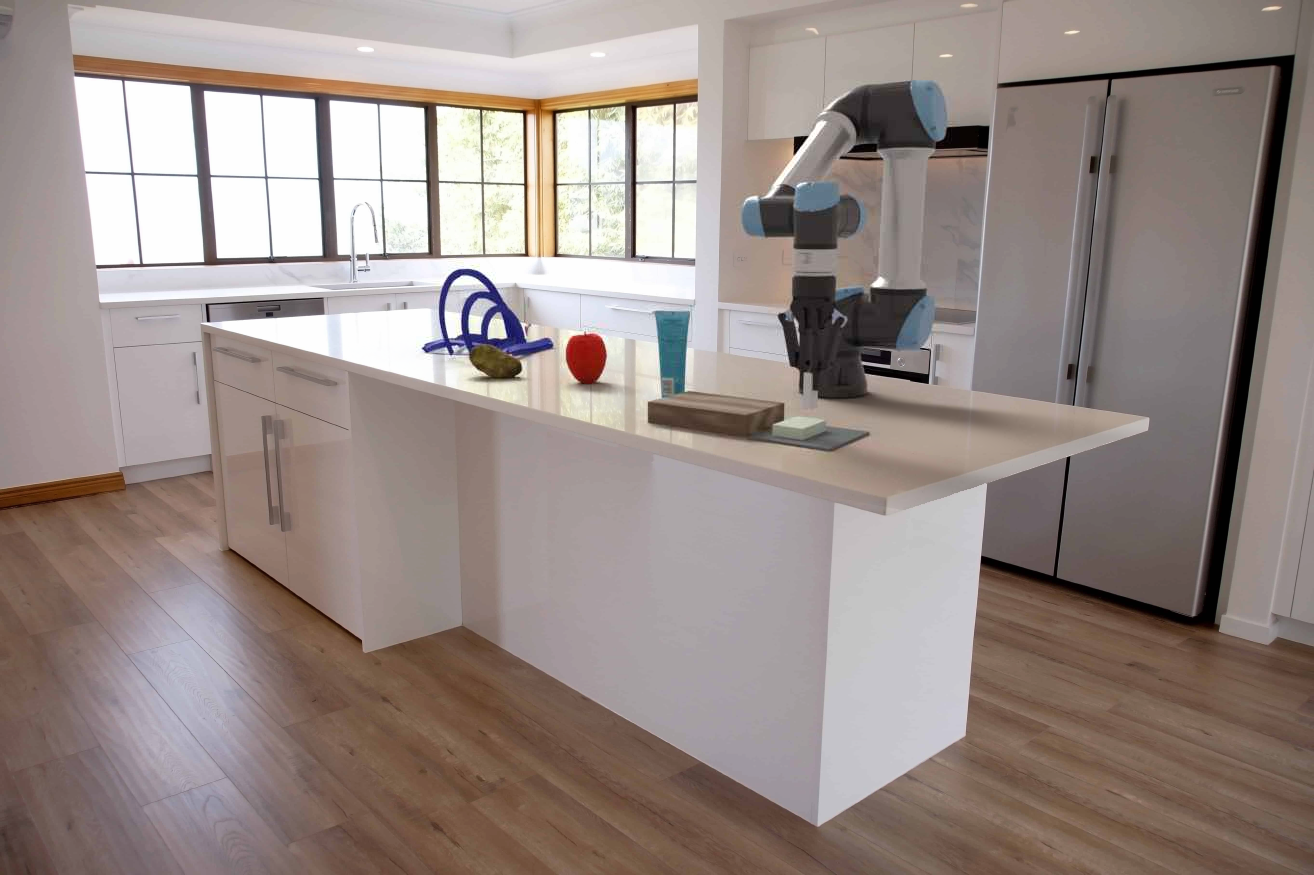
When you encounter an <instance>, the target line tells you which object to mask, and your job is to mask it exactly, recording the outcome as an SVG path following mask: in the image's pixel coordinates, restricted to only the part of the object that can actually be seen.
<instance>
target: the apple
mask: <svg viewBox="0 0 1314 875" xmlns="http://www.w3.org/2000/svg"><path fill="white" fill-rule="evenodd" d="M607 354H608V353H607V347H606V344H605V342H604V340H603V337H601V336H600V335H599V334H597V333H593V332H592V333H586V331H584V334H575V335H571V337H570V338H569V339H568V342H567V344H566V348H565V362H566V365H567V367H568V370H569V372H570V373H571V375H572V376H573V378H574V379H575V380H576V381H578V383H581V384H593V383H596V382H597V381H598V380H599V379H600V377H601V376H602V374H603V371H604V370H605V367H606V363H607V358H608V355H607Z"/></svg>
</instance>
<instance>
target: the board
mask: <svg viewBox="0 0 1314 875" xmlns="http://www.w3.org/2000/svg"><path fill="white" fill-rule="evenodd" d="M785 404H786V403H785V402H781V401H772V400H764V399H757V398H750V397H749V398H747V397H741V396H733V395H725V394H715V393H710V392H700V391H691V390H687V391H685V392H683V393H679V394H675V395H672V396H668V397H664V398H662V397H661V398H658V399H653V400H649V401H647V423H650V424H657V425H664V426H672V427H677V428H683V429H691V430H697V431H703V432H704V431H705V432H709V433H716V434H717V433H718V434H723V435H730V436H737V437H743V438H748V436H751V435H754V434H757V433H759V432H762V431H765V430H768V429H771V428H773V424H776V423H779V422H782V421H785V406H786V405H785Z"/></svg>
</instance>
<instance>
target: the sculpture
mask: <svg viewBox="0 0 1314 875" xmlns="http://www.w3.org/2000/svg"><path fill="white" fill-rule="evenodd" d="M462 276H463V277H464V276H466V277H472V278H473V279H476V280H478V282H480V283H482V284H483V286H485V287H486V289H487V290H488V291H485V290H480V291H475V292H473V293H471V294H470V295H469V296H468V297H467V298H466V299H465V301H464V304H463V307H462V310H461V314H460V315H461V316H460V325H461V326H460V327H461V334H459V335H457V336H456V337H455V338H454V337H449V335H448V334H449V333H448V331H447V326H446V324H447V323H446V312H445V310H446V301H447V297H448V294H449V291H450V288H451V286H452V284H454V282H455V281H456V280H458V279H459V278H461V277H462ZM499 292H500V291H498V289H497V288H496V286H495V284H494V282H492V281H491V279H490V278H489V277H487V276H486V275H485V274H484V273H483V272H481V271H479V270H476V269H473V268H459V269H456V270H454V271H452V272H451V273H450V274H449V275H448V276H447V277H446V278H445V280H444V282H443V284H442V287H441V291H440V294H439V295H440V296H439V301H438V318H439V319H438V320H439V326H440V331H441V336H442V339H437V340H435V341H430V342H427V343H424V345H423V346H422V347H421V350H422V351H423V352H425V354H427V353H431V352H434V351H437V350H441V349H445V348H446V349H447V352H448V354H449V356H450V357H452V356H453V354H454V353H455V351H454V349H453V347H455V346H457V347H458V348H459V349H462V347H466V349H467V351H468V353H469V352H470V350H471V349H472V348H474V347H475V346H477V345H480V344H488V345H493V346H495V347H496V348H498V349H500V350H502V351H503V352H505V353H507V354H509V355H511V356H513V357H519V356H526V355H531V354H534V353H538V351H539V352H542V351H541V350H543V351H547V350H546V349H548V350H551V348H552V349H553V348H554V342H553V341H552V339H551V338H549V337H543V338H540V339H538V340H532V341H530V342H529V341H528V342H527V338H526V337H527V336H528V332H529V331H528V330H529V328H530V327H532V324H531V323H530V322H529V323H528V326H526V325H525V326H524V329H523V326H522V324H521V321H520V320H519V318H518V317H517V315H516V314H515V313H514V311H513V310H511V309H510V308H509V307H508V305H507V303H506V302H505V301H504V299H503V298H502V295H501V294H500V293H499ZM478 299H483V300H484V299H486V300H488V301H490V302H492V303H493V304H495V305H494V306H491V307H490V308H489V309H488V310H487V311H486V312H485V313H484V316H483V318H482V321H481V326H480V334H479V333H470V327H469V326H470V325H469V321H470V312H471V310H472V307H473V305H474V304H475V303H476V301H478ZM497 313H501V317H502V322H503V324H504V329H505V334H506V338H499V337H493V338H492V337H491V338H489V334H488V333H489V325H490V323H491V322H492V318H494V316H495V315H496V314H497Z"/></svg>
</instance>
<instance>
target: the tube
mask: <svg viewBox="0 0 1314 875" xmlns="http://www.w3.org/2000/svg"><path fill="white" fill-rule="evenodd" d="M654 316H655V317H654V318H655V324H656V334H657V344H658V345H657V346H658V358H659V372H660V373H659V376H660V391H661V398H664V397H668V396H672V395H675V394H679V393H683V392H686V387H685V386H686V368H687V367H686V365H687V363H686V362H687V349H688V348H687V347H688V346H687V345H688V332H689V323H690V319H691V318H690V317H691V311H690V310H683V311H682V310H675V311H674V310H654Z"/></svg>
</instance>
